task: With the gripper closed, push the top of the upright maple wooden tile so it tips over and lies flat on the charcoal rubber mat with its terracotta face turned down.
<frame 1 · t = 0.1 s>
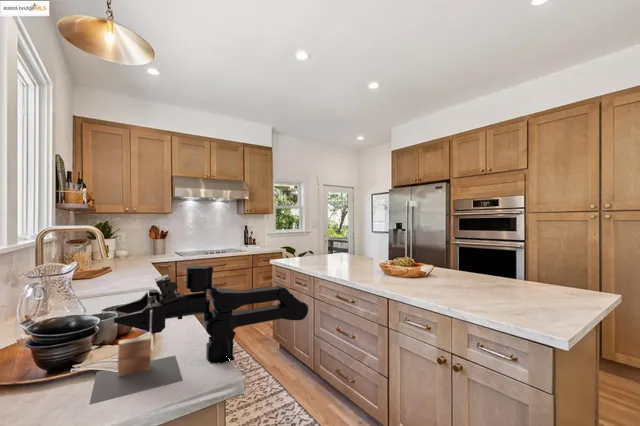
hand: (115, 314, 70), 17 cm above the countertop, tool horizontal, fingers open, 9 cm apart
tile: (134, 370, 75), point 1 cm above the countertop, touching mat
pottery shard: (82, 351, 87), on the countertop
mat: (138, 378, 73), on the countertop
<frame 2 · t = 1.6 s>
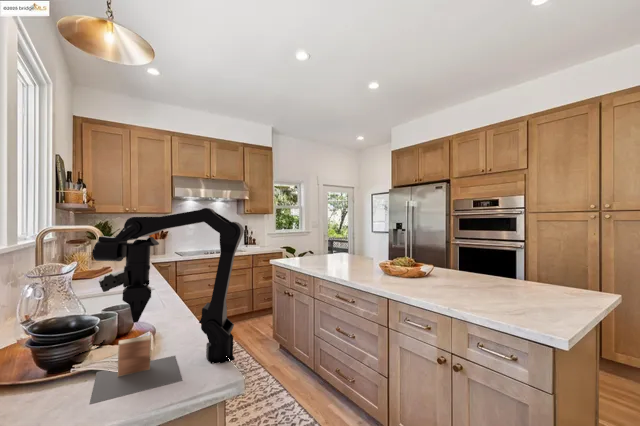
hand: (135, 317, 81), 12 cm above the countertop, tool pointing down, fingers open, 8 cm apart
nothing on the countertop moved.
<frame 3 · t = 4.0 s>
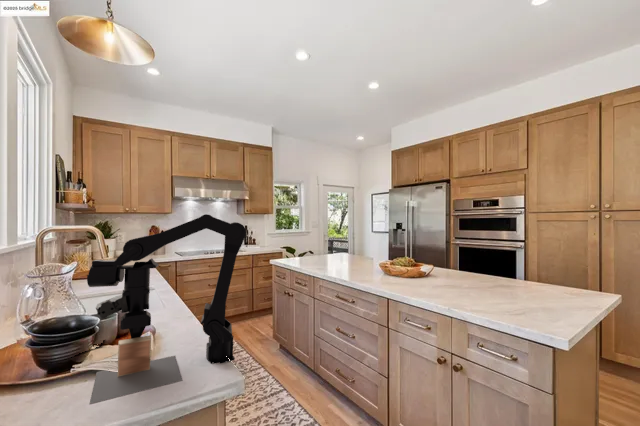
hand: (134, 344, 77), 7 cm above the countertop, tool pointing down, fingers closed
tile: (134, 370, 75), point 1 cm above the countertop, touching gripper, mat
everything else where it was.
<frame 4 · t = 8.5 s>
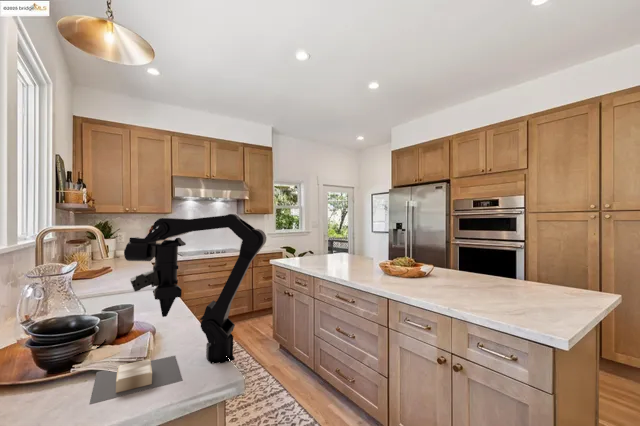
hand: (164, 316, 83), 12 cm above the countertop, tool pointing down, fingers closed
tile: (134, 367, 74), point 2 cm above the countertop, tilted 90°, touching mat
everything else where it was.
at the end: tile tilted 90°; tile inside the target area (1.1 cm from its centre), point 2.0 cm above the countertop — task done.
